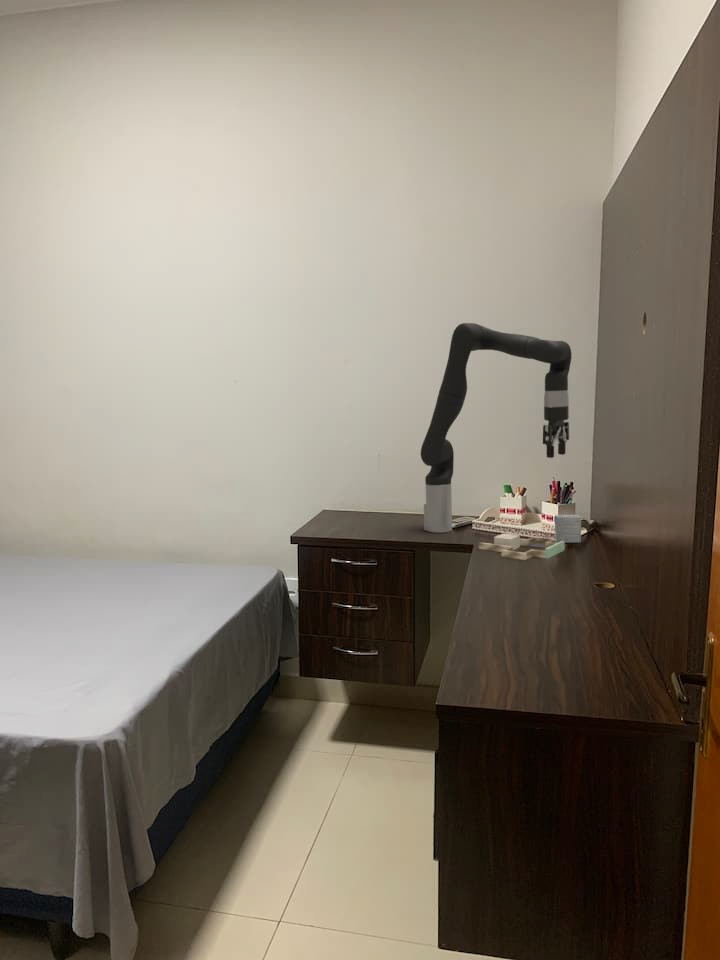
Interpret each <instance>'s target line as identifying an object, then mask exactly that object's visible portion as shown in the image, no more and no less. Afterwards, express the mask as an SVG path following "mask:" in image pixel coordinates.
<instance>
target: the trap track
mask: <svg viewBox="0 0 720 960" xmlns="http://www.w3.org/2000/svg"><path fill="white" fill-rule="evenodd" d="M496 536H497V535H495V536H494V537H496ZM565 544H566V543H565V541H560V542H558V543H557V542H556V539H555V538H548V537H542V536H536V535H535V536H530V537H529V538H520V546H523V547H529V548H530V547H531V548H539V549H540V550H539V549H529V550H527V551H525V552H521V551H515V549H514V547H512V546H504V545H497V544H494V543H488V542H478V549H479V550H484V551H491V552H496V553H497V552H499V553H501V557H502V558H506V559H507V558H508V559H515V560H520V561H526V560H528V559H531V558H533V557H535V558H540V559H546V560H548V559H550V558H552V557H555V556H556V555H558V554H560V553H562V552H564V551H565V547H566V546H565ZM541 549H544V550H541Z"/></svg>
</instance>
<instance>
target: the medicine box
mask: <svg viewBox="0 0 720 960" xmlns="http://www.w3.org/2000/svg"><path fill="white" fill-rule="evenodd" d="M555 532H556V543H558V542H560V541H565V544H571V543H572V544H573V543H574V544H576V543H578V544H579V543H582V517H581V516H580V515H579V514H559V515H558V514H555V515H554V533H555Z"/></svg>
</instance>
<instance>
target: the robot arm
mask: <svg viewBox="0 0 720 960" xmlns="http://www.w3.org/2000/svg"><path fill="white" fill-rule="evenodd" d="M480 350H481V351H485V350H487V351H496V352H500V353H504V354H507V355H510V356H513V357H518V358H523V359H527V360H528V359H529V360H534V361H538V362H542V363H545V364H550V365H549V370H548V372H547V373H545V377H544V397H543V419H544V421H548V423H547V424H543V426H542V444H543V445H545V446H546V458H549V459H553V458H555V442H556V441H557V443H558V444H557V446H558V449H557V454H558V455H562V456H563V455H565V454H566V443H567V442H568V441H569V440H570V425H569V424H570V422H569V421H568V420H569V417H570V416H569V411H570V410H569V408H570V407H569V404H570V402H569V400H570V399H569V390H568V388H569V380H568V379H569V378H568V376H569V373H570V368H571V363H572V348H571V346H570V344H569V343H568V342H566V341H564V340H550V339H541V338H538V337H537V336H536V337H535V336H531V335H524V334H518V333H516V334H515V333H508V332H501V331H497V330H493V329H491V328H488V327H487V326H483V325H481V324H478V323H473V322H472V323H471V322H462V323H460V324H458V325H457V326H456V327H455V329H454V330H453V333H452V335H451V340H450V347H449V353H448V356H447V363H446V366H445V370H444V374H443V379H442V380H441V381H442V382H441V384H440V387H439V391H438V395H437V399H436V403H435V407H434V410H433V413H432V417H431V420H430V424H429V427H428V429H427V432H426V434H425V437H424V439H423V441H422V442H423V443H422V444H421V448H420V458H421V461H422V462H423V464H425V465H426V466H427V467H428V466H429V467H430V471H429V472H428V473H427V474H426V476H425V478H424V481H425V504H423V524H424V525H423V527H424V528H423V530H424V531H427V532H429V533H440V534H441V533H449V532H452V530H453V516H452V515H453V509H452V507H453V506H452V504H453V503H452V478H453V474H454V460H455V459H454V457H455V456H454V453H455V452H454V448H453V447H454V446H453V444H452V443H451V442H450V441H449V440H448V439H446V438H447V435H448V432H449V430H450V429H451V427H452V425H453V423H454V422H455V421H456V419H457V418H458V416H459V415H460V413H461V411H462V409H463V406H464V403H465V399H466V396H467V393H468V392H467V391H468V381H467V365H468V361H469V358H470V356H471V352H473V351H474V352H475V351H480Z"/></svg>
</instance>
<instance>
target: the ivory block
mask: <svg viewBox="0 0 720 960" xmlns="http://www.w3.org/2000/svg"><path fill="white" fill-rule="evenodd" d="M495 536H496V537H495ZM495 536H494V537H493V544H497V545H504V546H512V547H514V550H517V549H518V548H520V547H521V545H520V539H521V537H520V535H519V534H517V535H516V534H511V533H501V534H499V535H495Z"/></svg>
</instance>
